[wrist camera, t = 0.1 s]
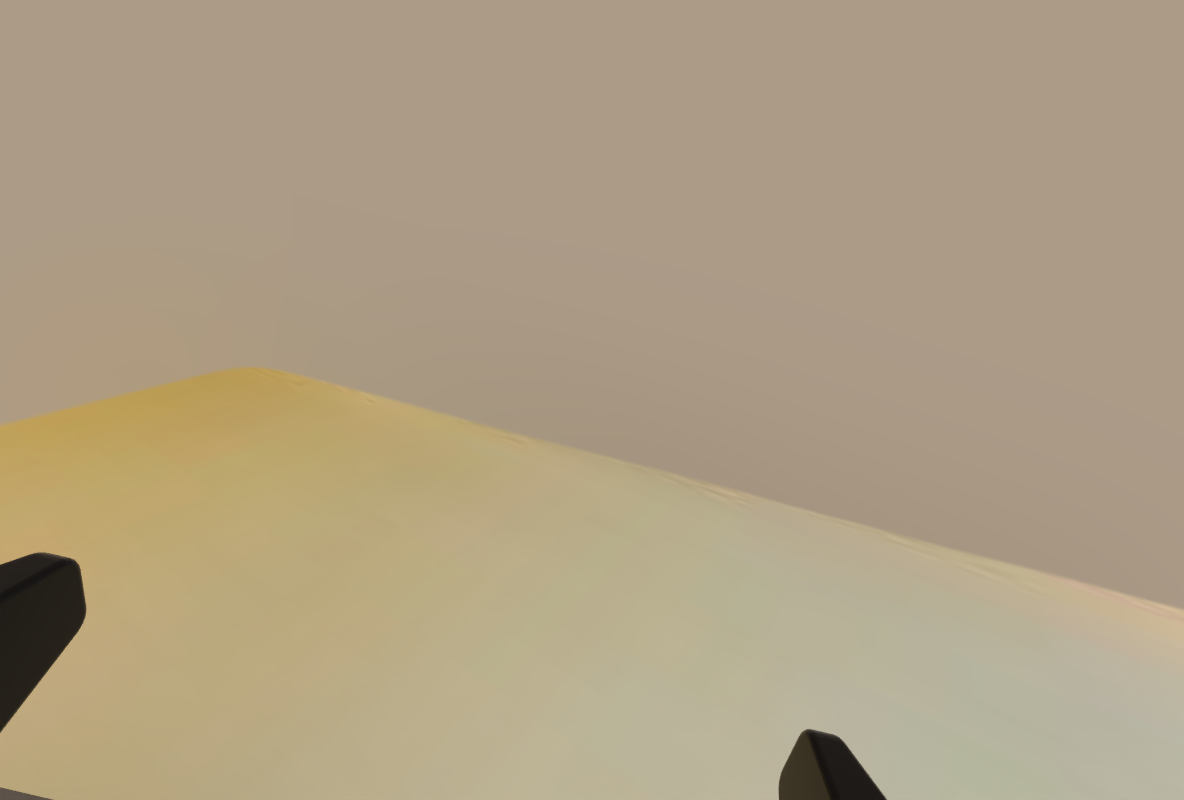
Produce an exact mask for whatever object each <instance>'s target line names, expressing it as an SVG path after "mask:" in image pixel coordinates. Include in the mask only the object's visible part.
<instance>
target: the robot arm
mask: <svg viewBox="0 0 1184 800" xmlns="http://www.w3.org/2000/svg"><path fill="white" fill-rule="evenodd" d="M85 615H86V602H85V596H84V589H83V583H82V576H81V570H80V566H79V564H78V563H77V562H76V561H75V560H73V559H71V558H67V557H63V556H59V555H54V554H50V553H34V554H30V555H27V556H24V557H21V558H18V559H16V560H13V561H10V562H7V563H4V564H1V565H0V732H1V731H2V730H3V728H4V727H5V726H6V725H7V723H8V722H9V721H10V719H11V718H12V717H13V715H14V714H15V713H16V712H17V710H18V709H19V708H20V706H21V705H22V704H23V702H24V701H25V700H26V699H27V697H28V696H29V695H30V693H31V692H32V691H33V689H34V688H35V687H36V686H37V684H38V683H39V682H40V680H41V679H42V678H43V676H44V675H45V674H46V673H47V671H48V670H49V669H50V667H51V666H52V665H53V663H54V662H55V661H56V660H57V658H58V657H59V656H60V654H61V653H62V652H63V650H64V649H65V648H66V647H67V645H68V644H69V643H70V641H71V640H72V639H73V637H74V636H75V635H76V634H77V632H78V631H79V629H80V627H81V626H82V624H83V621H84V619H85ZM779 800H887V799H886V798H885V796H884V795H883V794H882V792H881V791H880V790H879V788H878V787H877V786H876V784H875V783H874V782H873V780H872V779H871V778H870V776H869V775H868V774H867V772H866V771H865V770H864V768H863V767H862V765H861V764H860V763H859V761H858V760H857V759H856V757H855V756H854V755H853V753H852V752H851V751H850V749H849V748H848V747H847V745H846V744H845V743H844V742H843V741H842V740H841V739H840V738H839V737H838V736H836V735H833V734H829V733H824V732H820V731H816V730H811V729H807V730H805V731H803V732H802V733H801V735H800V736H799V738H798V740H797V742H796V744H795V746H794V748H793V750H792V752H791V754H790V756H789V758H788V760H787V762H786V764H785V765H784V767H783V770H782V772H781V776H780V781H779Z"/></svg>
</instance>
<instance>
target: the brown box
mask: <svg viewBox="0 0 1184 800" xmlns="http://www.w3.org/2000/svg"><path fill="white" fill-rule="evenodd" d="M0 800H52V799H47V798H43V797H39V796H34V795H30V794H26V793H22V792H17V791H13V790H9V789H4V788H0Z"/></svg>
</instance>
